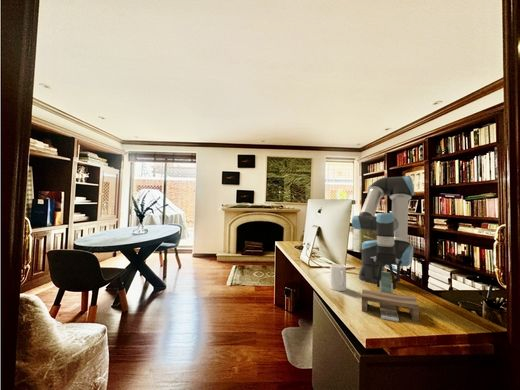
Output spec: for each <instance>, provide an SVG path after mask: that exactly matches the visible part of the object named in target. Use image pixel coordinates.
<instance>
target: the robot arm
mask: <svg viewBox="0 0 520 390" xmlns="http://www.w3.org/2000/svg"><path fill="white" fill-rule="evenodd" d="M413 181H414V180H413V179H412V177H411V176H403V175H402V176H391V177H381V178H379V179H377V180H375V181H373V182H372V184H370V186H368V188H367V192H366V194H367V196H366V198H365V200H364V203H363V205H362V208H361V210H360V212H359V215H358V214H357V215H354V216H352V218H351V226H352V228H353V229H355V230H362V231H376V239H375V240H373V239H372V240H365V241H363V242H362V243H361V267H360V270H359V272H358V273H359V274H358V278H359V280H361V281H363V282H367V283H374V284H376V287H377V288H379V292H382V291H381V272H382V271H384V272H385V270H384V266H388V267H389V272H390V273H391V293H393V294H394V290H396V283H398V282H399V283H400V282H401V267H410V265H412V261H413V257H414V246H413V245H411V241H409V240H408V226H409V225H408V224H409V223H408V221H409V220H408V219H409V201H410V200H411V199H412V196H414V195H415V186H414V182H413ZM385 196H387V197H388V196H389V199H390V200H391V212H377V210H378V209H377V208H378V206H379V203H380V201H381V199H382V198H383V197H385ZM376 212H377V214H376ZM375 214H376V215H375ZM393 266H396V278H395V274H394V270H393Z"/></svg>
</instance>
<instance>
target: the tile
mask: <svg viewBox="0 0 520 390" xmlns="http://www.w3.org/2000/svg"><path fill="white" fill-rule="evenodd" d="M381 319H382V320H386V321H392V322H397V323H398V322H399V321H400V320H399V319H400V318H399V313H398V311H397V312H393V311H387V310H382V309H381V311H380V320H381Z"/></svg>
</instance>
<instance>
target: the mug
mask: <svg viewBox="0 0 520 390" xmlns="http://www.w3.org/2000/svg"><path fill="white" fill-rule="evenodd" d="M329 288H330V289H331V290H333V291H337V292H343V291H347V266H346V265H345V264H340V263H331V264H330V265H329Z"/></svg>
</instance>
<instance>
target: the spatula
mask: <svg viewBox="0 0 520 390" xmlns="http://www.w3.org/2000/svg"><path fill="white" fill-rule="evenodd" d="M391 281H392V277H391V273H390V271H385V270H384V271H382V272H381V291H382V292H386V293H391ZM381 309H382V310H387V311H393V312H397V313H398V310H397V306H395V305H389V304H383V303H379V311H380V312H381Z"/></svg>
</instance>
